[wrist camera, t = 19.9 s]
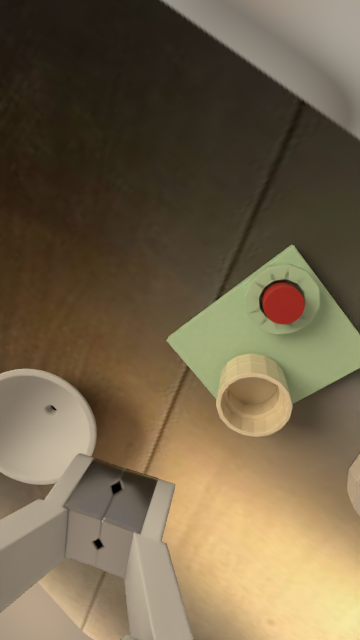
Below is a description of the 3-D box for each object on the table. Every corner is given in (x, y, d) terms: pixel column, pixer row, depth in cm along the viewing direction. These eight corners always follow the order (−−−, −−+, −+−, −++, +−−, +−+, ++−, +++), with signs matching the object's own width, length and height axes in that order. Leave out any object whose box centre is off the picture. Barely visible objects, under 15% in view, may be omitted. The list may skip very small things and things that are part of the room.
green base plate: (291, 243, 27) (296, 246, 24) (371, 352, 29) (385, 366, 26) (168, 335, 32) (161, 346, 29) (242, 422, 34) (242, 441, 31)
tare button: (286, 274, 25) (289, 278, 24) (308, 303, 26) (313, 310, 24) (254, 296, 26) (255, 302, 25) (276, 324, 27) (278, 332, 25)
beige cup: (259, 339, 29) (262, 359, 25) (298, 388, 30) (307, 415, 25) (207, 372, 31) (202, 396, 27) (245, 417, 32) (245, 447, 28)
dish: (56, 324, 34) (27, 340, 30) (140, 412, 36) (125, 441, 31) (-20, 399, 41) (-54, 423, 36) (55, 472, 42) (32, 503, 38)
